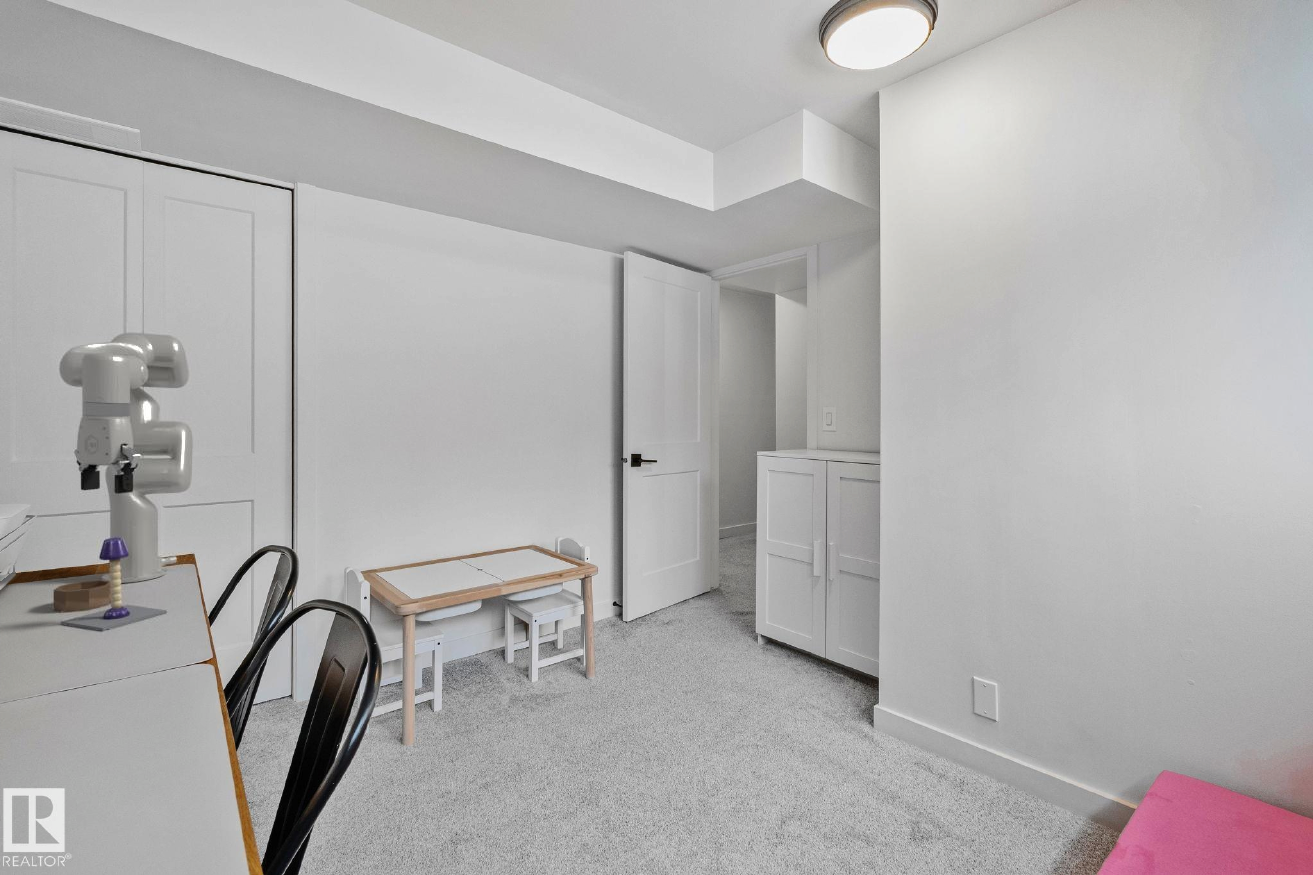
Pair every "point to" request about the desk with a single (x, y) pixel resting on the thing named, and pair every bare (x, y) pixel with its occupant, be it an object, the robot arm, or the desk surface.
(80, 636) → the desk surface
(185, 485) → the robot arm
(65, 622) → the mat
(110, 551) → the toy lamp
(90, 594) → the holder ring
